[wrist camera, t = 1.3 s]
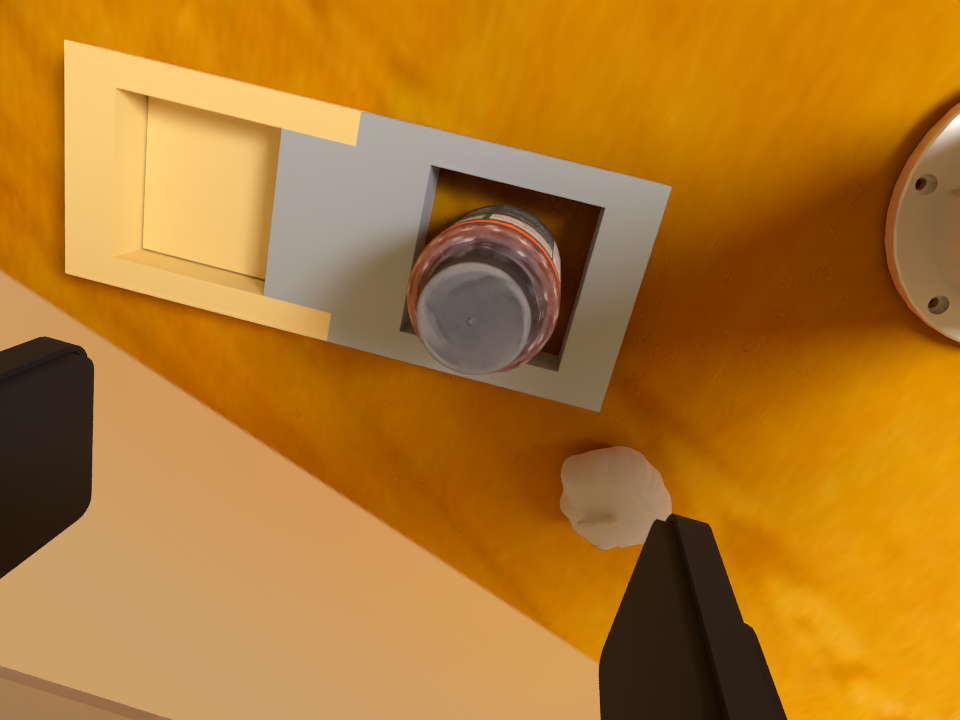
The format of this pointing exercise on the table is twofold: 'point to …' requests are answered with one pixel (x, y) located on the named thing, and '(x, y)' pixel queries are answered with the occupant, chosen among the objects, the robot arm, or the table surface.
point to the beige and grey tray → (314, 212)
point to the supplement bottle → (487, 291)
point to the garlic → (613, 496)
